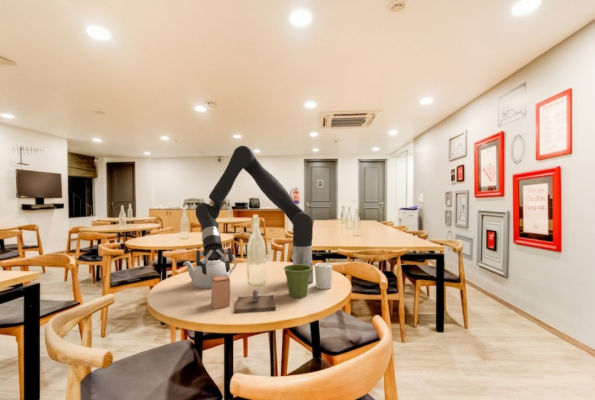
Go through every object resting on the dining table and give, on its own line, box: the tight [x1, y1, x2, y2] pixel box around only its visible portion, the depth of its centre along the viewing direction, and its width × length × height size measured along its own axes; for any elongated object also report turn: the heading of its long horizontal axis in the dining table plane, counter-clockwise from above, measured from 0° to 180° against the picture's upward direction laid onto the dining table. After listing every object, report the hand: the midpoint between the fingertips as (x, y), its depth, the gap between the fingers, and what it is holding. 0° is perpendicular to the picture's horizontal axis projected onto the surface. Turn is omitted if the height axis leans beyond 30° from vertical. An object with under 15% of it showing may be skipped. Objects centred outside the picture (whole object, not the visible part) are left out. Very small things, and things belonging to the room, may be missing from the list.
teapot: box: [182, 254, 238, 289], centre depth 123 cm, size 19×18×14 cm
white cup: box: [314, 262, 333, 290], centre depth 116 cm, size 8×8×10 cm
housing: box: [210, 275, 231, 310], centre depth 96 cm, size 6×6×10 cm
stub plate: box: [234, 288, 277, 314], centre depth 96 cm, size 14×12×6 cm
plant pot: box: [282, 264, 312, 299], centre depth 106 cm, size 12×12×11 cm
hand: (216, 272), depth 102 cm, fingers open, 8 cm apart
